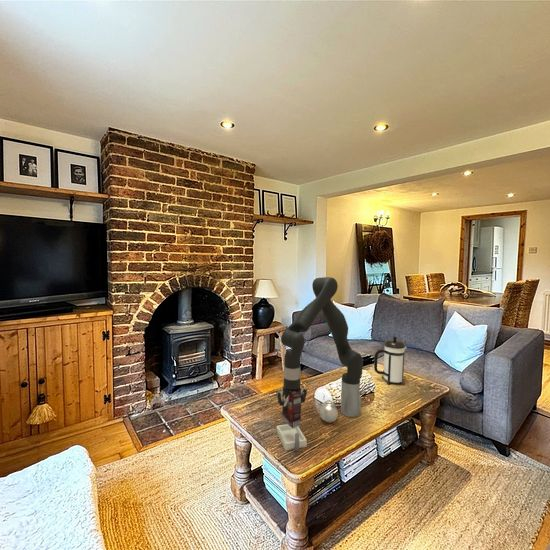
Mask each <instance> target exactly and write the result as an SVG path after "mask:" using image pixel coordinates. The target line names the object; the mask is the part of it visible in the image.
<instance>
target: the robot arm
mask: <svg viewBox="0 0 550 550" xmlns="http://www.w3.org/2000/svg"><path fill="white" fill-rule="evenodd" d="M312 281H313V282H312V284H311V285H312V286H311V287H312V291H313V294H314V296H315V298H314V299H313V300H311V301H310V303H308V304H307V305H306V306H305V307H304V308H302V310H301V311H300V312H299V314H298V316H297V317H296V318H295V320H294V321H293V322H292V323H291V324H290V325H288V327H287V328H285V329H284V331H283V332H282V333H281V334H282V335H281V337H280V342H281V344H282V345H283V346H285V347H287V348H291V351H287V352H285V354H284V363H283V365H284V366H283V386H282V390H276V397H277V402H278V404H279V406H280V407H281V406H282V407H281V412H282V411H283V413H284V414H286V413H287V406H286V405H287V402H288V401H289V398H288V397H289V394H288V391H290V390H299V391H301V404H302V403H305V402H306V397H307V393H308V390H307V389H306V387H301V376H302V374H301V371H302V369H301V356H302V353H303V350H304V346H305V337H304V335H303V334H302V333H305V332H308V331H309V329H310V328H311V325H312V324H313V323H314V321H315V319H316V318H317V316H318V314H319V313H320V312H321V311H322V313H323V315H324V317H325V318H324V319H325V320H326V324H327V327H328V328H329V331H330V333H331V336H332V339H333V343H334V345H335V347H336V352H337V355H338V359H339V362H340V364H341V365H343V366H344V367H345V368H347V369H346V371H347V372H344V373H343V374H342V375H341V388H340V389H341V392H340V394H341V395H340V397H341V398H340V413H341V414H342V415H343V416H346V417H347V418H348V417H349V418H355V417H358V416H359V415H361V411H362V410H361V409H362V396H361V395H360V391H361V379H362V376H363V368H364V367H363V366H364V359H363V356H362V354H361V353H359V352H357V351H355V350H353V349H352V347H351V346H350V343H349V340H348V335H349V326H348V322H347V319H346V317H345V315H344V313H343V312H342V311H341V310H340V309H339V308H338V306H336V305H335V303H334V302H333V301H332V299H333V297H334V296H335V295H336V293H337V291H338V288H339V287H338V286H339V285H338V282H337V280H336V279H335V278H334V277H331V276H330V277H329V276H326V277H325V276H324V277H323V276H322V277H317V278H315V279H313V280H312ZM283 393H284V399H283V401H282V397H283ZM285 396H286V397H287V398H285Z"/></svg>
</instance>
